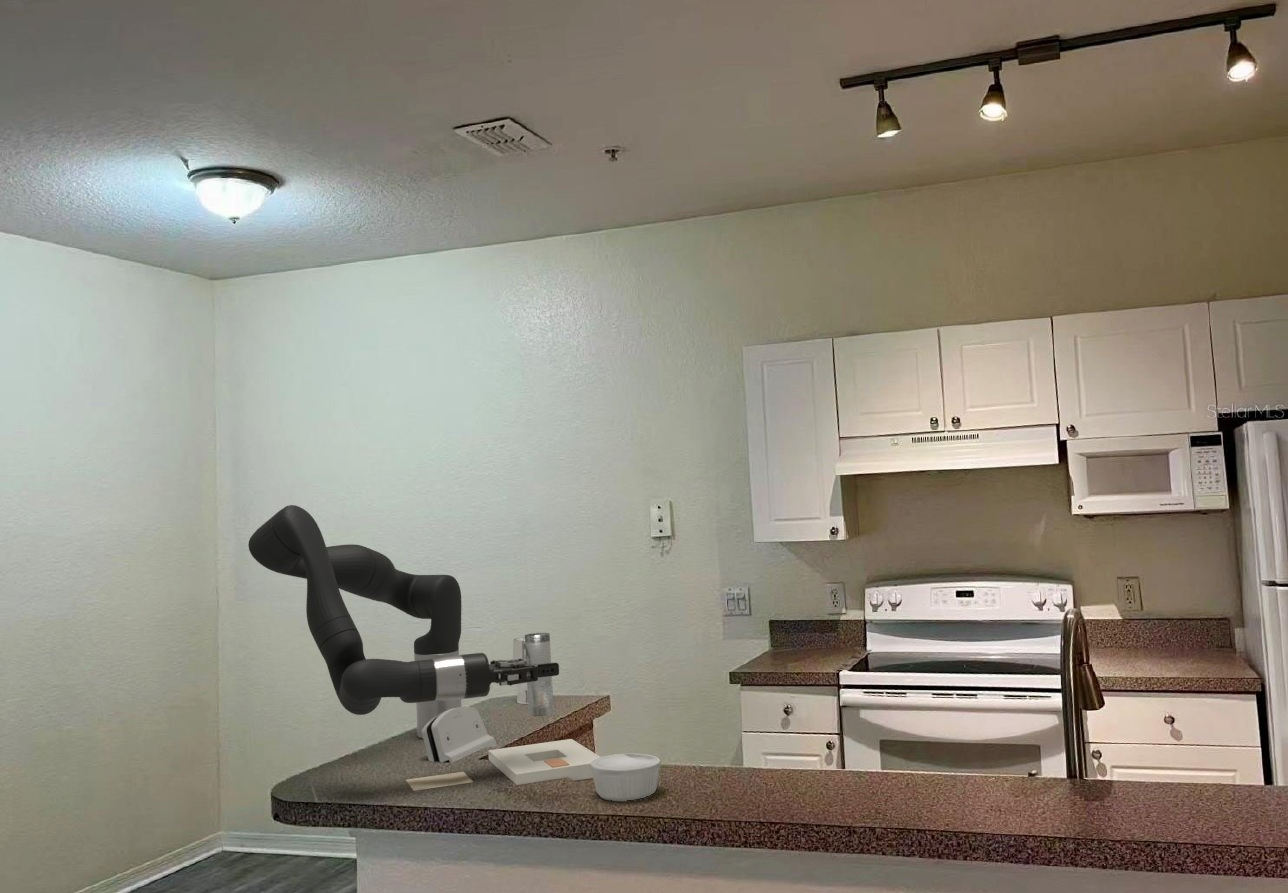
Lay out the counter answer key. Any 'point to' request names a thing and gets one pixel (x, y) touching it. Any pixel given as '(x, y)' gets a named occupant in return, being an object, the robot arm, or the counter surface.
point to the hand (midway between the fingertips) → (553, 667)
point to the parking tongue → (438, 781)
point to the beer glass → (520, 653)
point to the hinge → (455, 735)
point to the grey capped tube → (541, 689)
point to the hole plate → (544, 761)
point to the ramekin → (625, 776)
